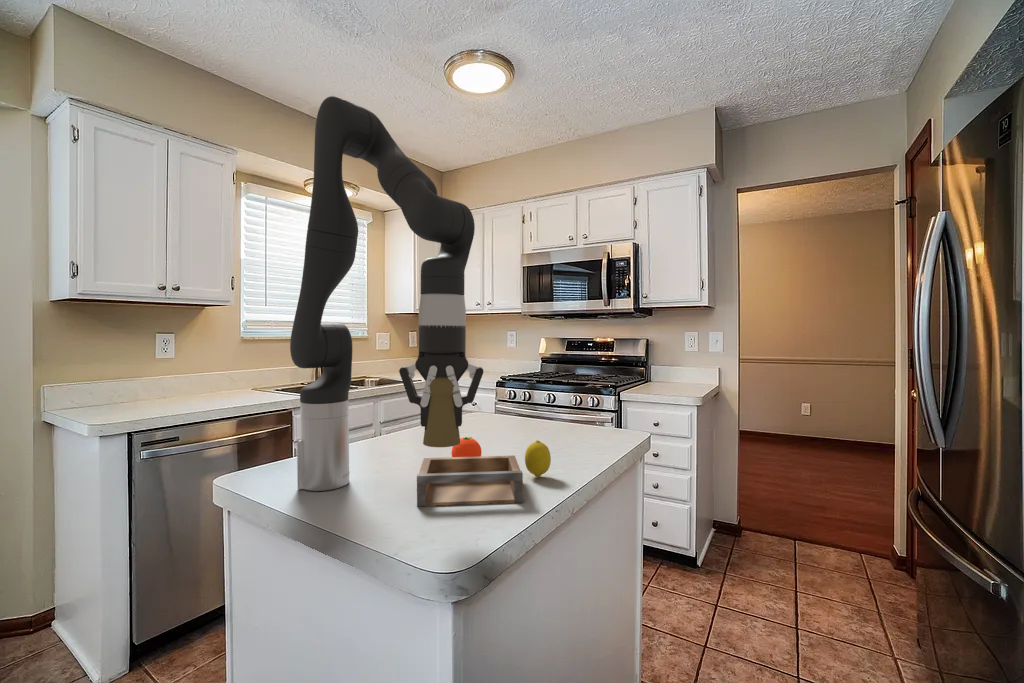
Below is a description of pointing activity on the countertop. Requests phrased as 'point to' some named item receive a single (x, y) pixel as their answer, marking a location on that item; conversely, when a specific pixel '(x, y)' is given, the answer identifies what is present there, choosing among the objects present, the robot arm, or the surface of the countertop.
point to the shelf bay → (469, 481)
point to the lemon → (537, 458)
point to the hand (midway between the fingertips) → (441, 428)
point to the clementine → (467, 448)
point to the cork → (441, 415)
